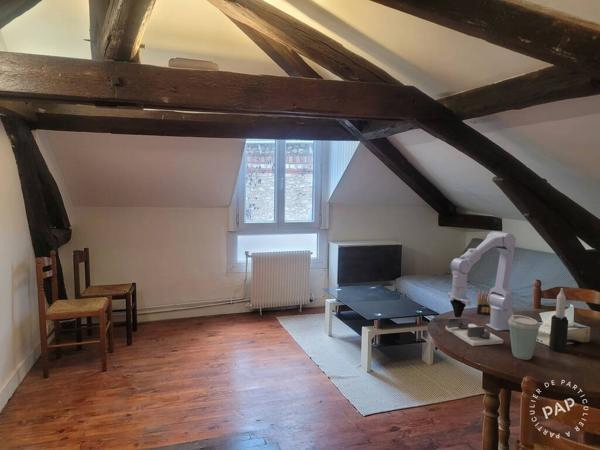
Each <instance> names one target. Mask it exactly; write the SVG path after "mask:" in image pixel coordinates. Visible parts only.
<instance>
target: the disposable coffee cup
mask: <svg viewBox="0 0 600 450" xmlns="http://www.w3.org/2000/svg"><path fill="white" fill-rule="evenodd" d="M508 323H509V328H510V330H509V336H510V344H511V345H510V346H511V352H512V353H511V354H512V356H513V357H515V359H516V358H517V359H518V360H519V359H520V360H527V361H528V360H531V359H532V357H533V354H534V350H535V348H536V342H537V338H538V335H539V330H540V328H541V324H540V323H539V322H538V320H536V319H535V318H532V317H530V316H525V315H523V314H522V315H520V314H514V315H512V316H510V319H509V321H508Z"/></svg>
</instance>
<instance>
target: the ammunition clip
mask: <svg viewBox="0 0 600 450" xmlns="http://www.w3.org/2000/svg"><path fill="white" fill-rule="evenodd" d="M489 293H490V292H489V291H488V290H487V291H486V293H485V291H484V290H483V291H482V292H481V290H479V291H478V298H477V303H476V304H477V306H476V314H477V315H483V316H484V315H485V316H490V315H491V307H490V305H489V304H488V302H487V297H488V295H489ZM498 294H499V293H498Z"/></svg>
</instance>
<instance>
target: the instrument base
mask: <svg viewBox="0 0 600 450" xmlns="http://www.w3.org/2000/svg"><path fill="white" fill-rule="evenodd" d="M477 326H478V325H476V324H475V323H468V327H477ZM445 330H446V331H448V332H450V333H452V335H455V336H457V337H458V338H459V339H461V340H462V341H464V342H465V343H467V344H469V345H471V346H472V347H475V346H485V345H497V344H498V345H499V344H500V345H501V344H504V339H502V338H501V337H499V336H497V335H495V334H493V333H491V332H489V330H488V329H486V328H485V329H484V331H486V332H489V333H490V338H488V339H485V338H481V337H470V338H469V337H467V335H468V329H461V328H458V327H455V328H448V327H447V325H445Z"/></svg>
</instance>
